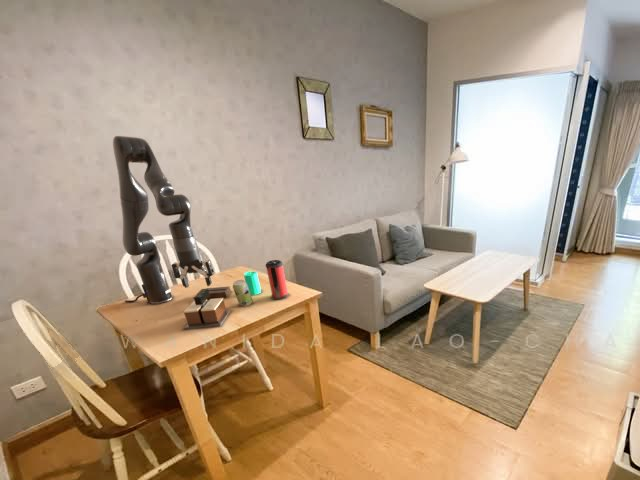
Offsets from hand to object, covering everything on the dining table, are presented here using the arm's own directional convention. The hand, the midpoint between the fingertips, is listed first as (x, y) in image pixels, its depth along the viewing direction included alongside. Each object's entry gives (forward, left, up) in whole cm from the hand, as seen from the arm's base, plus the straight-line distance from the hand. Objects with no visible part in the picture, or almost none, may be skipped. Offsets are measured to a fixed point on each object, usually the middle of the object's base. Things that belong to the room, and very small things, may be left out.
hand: (198, 286), depth 136 cm
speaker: (+27, +19, -16) cm, 37 cm away
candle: (+13, +27, -16) cm, 34 cm away
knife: (0, 0, -15) cm, 15 cm away
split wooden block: (0, 0, -16) cm, 16 cm away
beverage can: (+12, +13, -16) cm, 24 cm away
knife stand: (-5, +27, -16) cm, 32 cm away
